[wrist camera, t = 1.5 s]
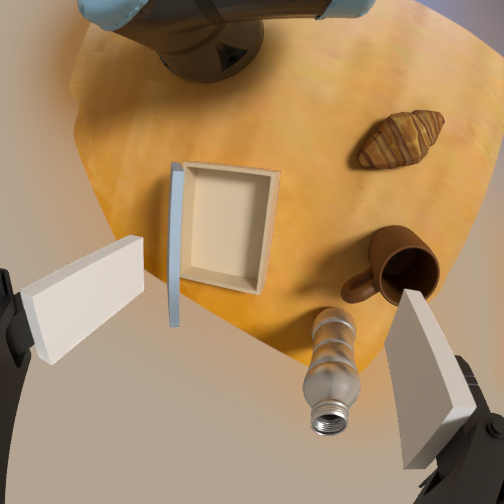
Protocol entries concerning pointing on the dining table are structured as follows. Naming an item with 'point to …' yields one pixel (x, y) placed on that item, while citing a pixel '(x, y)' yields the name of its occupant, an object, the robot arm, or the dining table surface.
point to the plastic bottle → (332, 372)
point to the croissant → (401, 139)
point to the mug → (394, 268)
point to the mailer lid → (174, 240)
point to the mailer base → (227, 224)
